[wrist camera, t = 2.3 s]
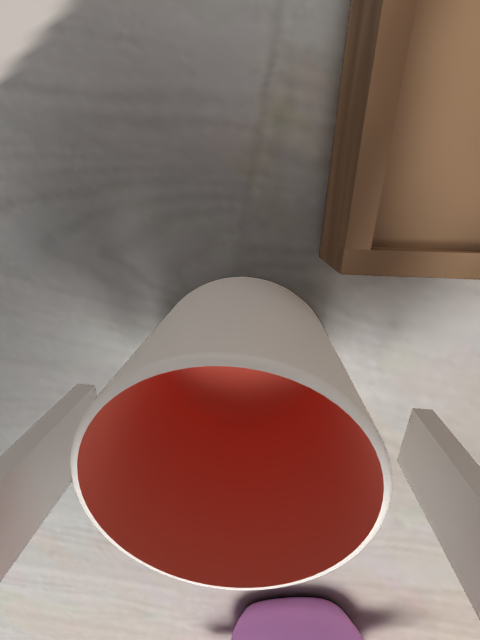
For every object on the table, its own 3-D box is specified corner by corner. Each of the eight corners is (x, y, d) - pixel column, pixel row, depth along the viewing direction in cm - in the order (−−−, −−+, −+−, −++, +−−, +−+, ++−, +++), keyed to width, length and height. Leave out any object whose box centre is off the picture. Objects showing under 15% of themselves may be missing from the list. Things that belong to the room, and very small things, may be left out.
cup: (289, 430, 20) (314, 618, 11) (152, 389, 20) (57, 551, 10) (351, 302, 17) (467, 421, 7) (185, 248, 16) (84, 304, 7)
